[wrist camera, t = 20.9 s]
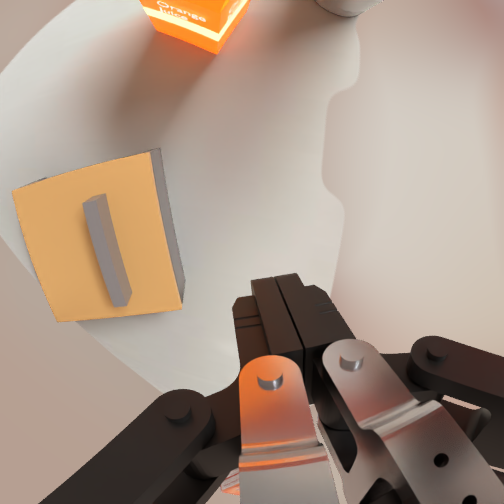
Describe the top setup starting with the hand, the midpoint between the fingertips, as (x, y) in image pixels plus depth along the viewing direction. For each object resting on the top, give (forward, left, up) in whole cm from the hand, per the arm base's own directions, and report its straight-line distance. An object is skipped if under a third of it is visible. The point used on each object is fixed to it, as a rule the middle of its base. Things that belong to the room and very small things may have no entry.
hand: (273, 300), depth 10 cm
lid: (+5, -17, -23) cm, 29 cm away
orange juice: (-21, -1, -29) cm, 36 cm away
